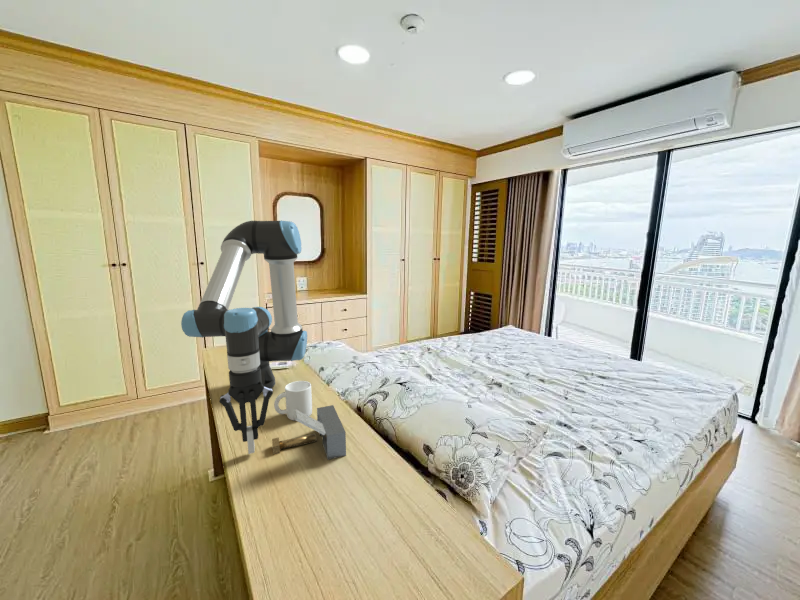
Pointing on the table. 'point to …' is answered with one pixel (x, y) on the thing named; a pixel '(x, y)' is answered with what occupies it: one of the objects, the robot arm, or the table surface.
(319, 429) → the tab
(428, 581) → the table surface
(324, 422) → the block
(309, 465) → the table surface
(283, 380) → the table surface
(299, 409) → the mug
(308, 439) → the lynch pin
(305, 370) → the table surface
